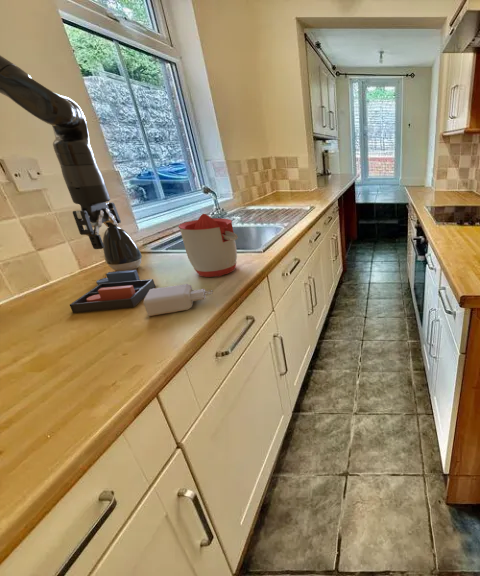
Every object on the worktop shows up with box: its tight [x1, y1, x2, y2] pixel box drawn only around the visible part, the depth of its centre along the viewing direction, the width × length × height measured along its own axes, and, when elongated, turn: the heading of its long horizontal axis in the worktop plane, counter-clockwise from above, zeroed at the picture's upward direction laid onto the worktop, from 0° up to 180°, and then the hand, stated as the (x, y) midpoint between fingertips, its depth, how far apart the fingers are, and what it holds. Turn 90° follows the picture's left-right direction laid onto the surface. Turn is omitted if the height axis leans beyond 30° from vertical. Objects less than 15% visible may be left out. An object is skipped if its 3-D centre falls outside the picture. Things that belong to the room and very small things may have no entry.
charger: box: [143, 283, 214, 317], centre depth 86 cm, size 5×9×15 cm
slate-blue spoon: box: [95, 269, 141, 286], centre depth 100 cm, size 4×11×4 cm, turn 103°
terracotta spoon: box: [87, 285, 135, 302], centre depth 87 cm, size 4×11×4 cm, turn 104°
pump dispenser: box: [102, 226, 143, 272], centre depth 110 cm, size 10×10×15 cm
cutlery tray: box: [69, 278, 156, 314], centre depth 90 cm, size 14×14×2 cm
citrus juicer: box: [177, 213, 239, 278], centre depth 106 cm, size 16×17×20 cm
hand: (108, 244), depth 88 cm, fingers open, 8 cm apart
